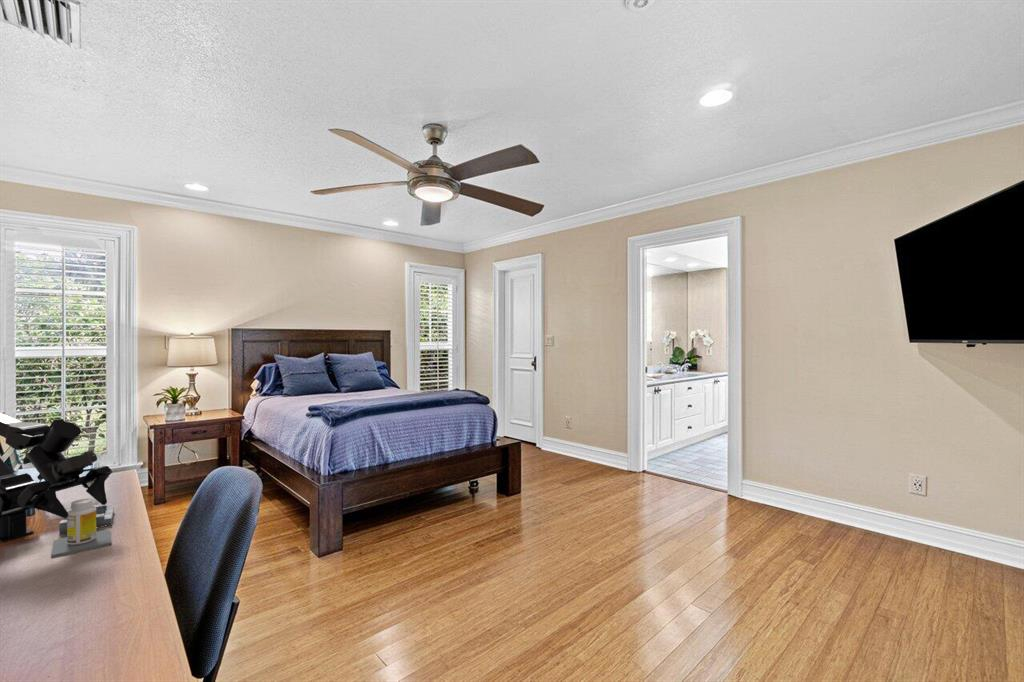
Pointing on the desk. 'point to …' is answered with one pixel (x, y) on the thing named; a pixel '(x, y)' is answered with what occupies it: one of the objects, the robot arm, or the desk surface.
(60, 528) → the vise
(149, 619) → the desk surface
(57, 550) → the slate pad
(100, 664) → the desk surface
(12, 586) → the desk surface
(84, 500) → the supplement bottle
